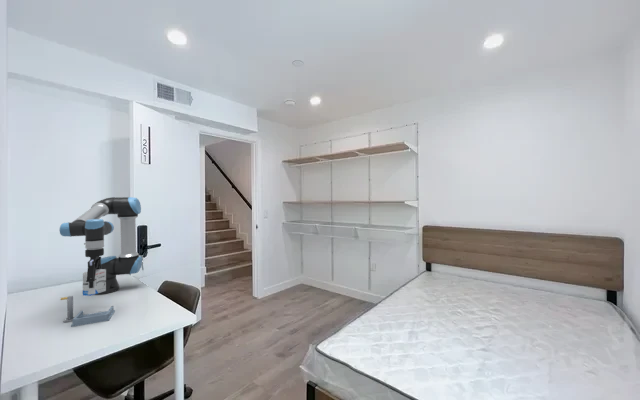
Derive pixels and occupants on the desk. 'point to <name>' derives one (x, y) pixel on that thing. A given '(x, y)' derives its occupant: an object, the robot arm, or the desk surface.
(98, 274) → the ink box
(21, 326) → the desk surface
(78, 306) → the desk surface
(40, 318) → the desk surface
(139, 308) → the desk surface
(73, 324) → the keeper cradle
